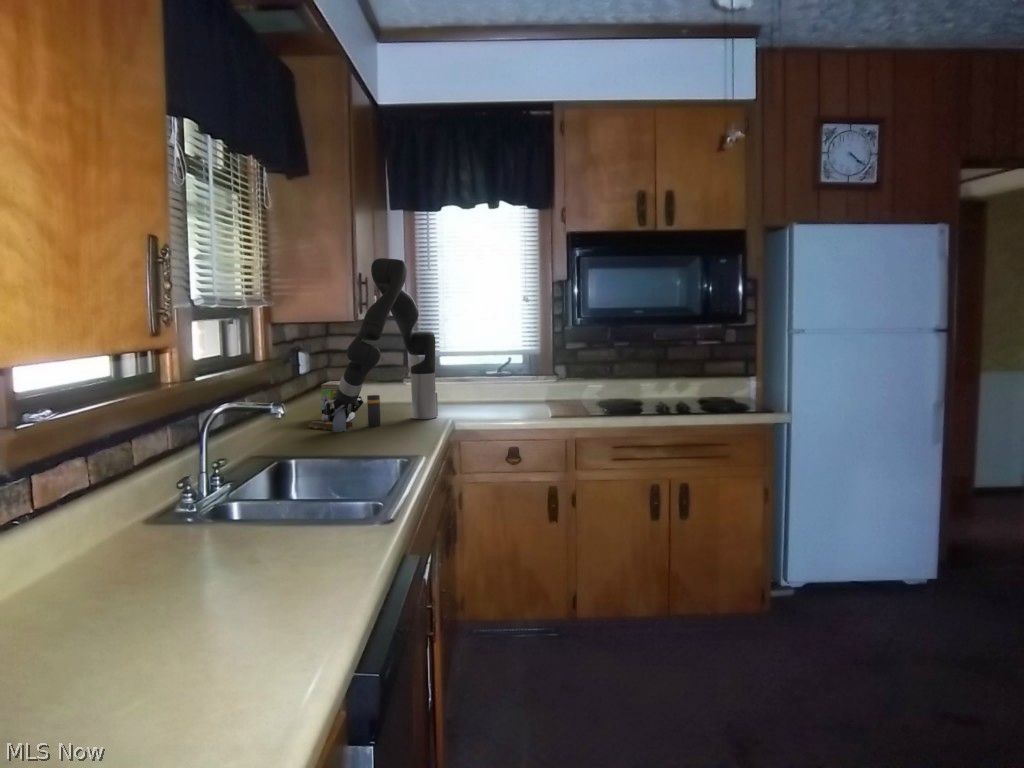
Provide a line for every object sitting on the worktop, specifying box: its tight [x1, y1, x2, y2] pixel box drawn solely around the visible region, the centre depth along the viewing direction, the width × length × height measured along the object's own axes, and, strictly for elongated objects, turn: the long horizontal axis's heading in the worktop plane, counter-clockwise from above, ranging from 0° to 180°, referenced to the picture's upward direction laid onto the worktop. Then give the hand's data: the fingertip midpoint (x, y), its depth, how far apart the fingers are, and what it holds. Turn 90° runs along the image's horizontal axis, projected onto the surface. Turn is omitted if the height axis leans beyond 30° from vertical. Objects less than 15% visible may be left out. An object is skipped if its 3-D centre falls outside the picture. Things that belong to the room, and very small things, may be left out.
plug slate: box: [332, 408, 347, 433], centre depth 281 cm, size 4×4×11 cm
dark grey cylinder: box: [366, 394, 382, 428], centre depth 293 cm, size 5×5×11 cm
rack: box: [308, 419, 353, 430], centre depth 291 cm, size 8×14×2 cm, turn 55°
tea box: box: [320, 380, 356, 422], centre depth 309 cm, size 15×10×15 cm
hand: (336, 419), depth 283 cm, fingers closed on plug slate, 4 cm apart
